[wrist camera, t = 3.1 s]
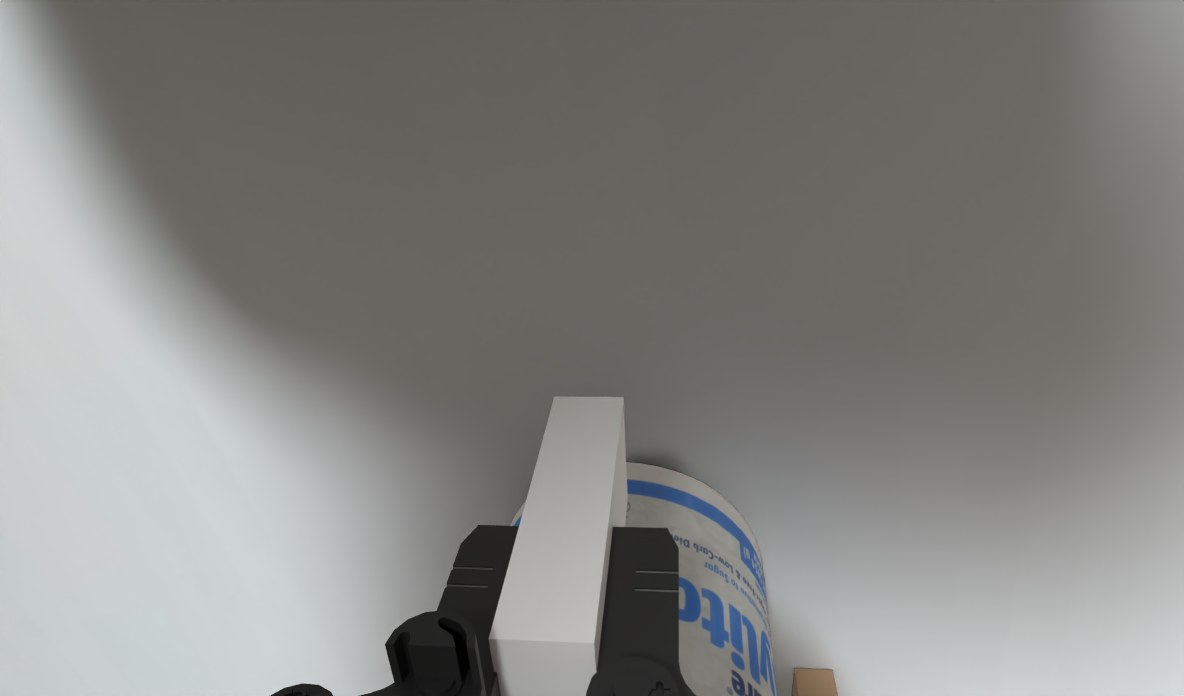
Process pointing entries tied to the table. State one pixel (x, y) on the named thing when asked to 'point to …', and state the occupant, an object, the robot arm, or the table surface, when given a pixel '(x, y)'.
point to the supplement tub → (708, 582)
